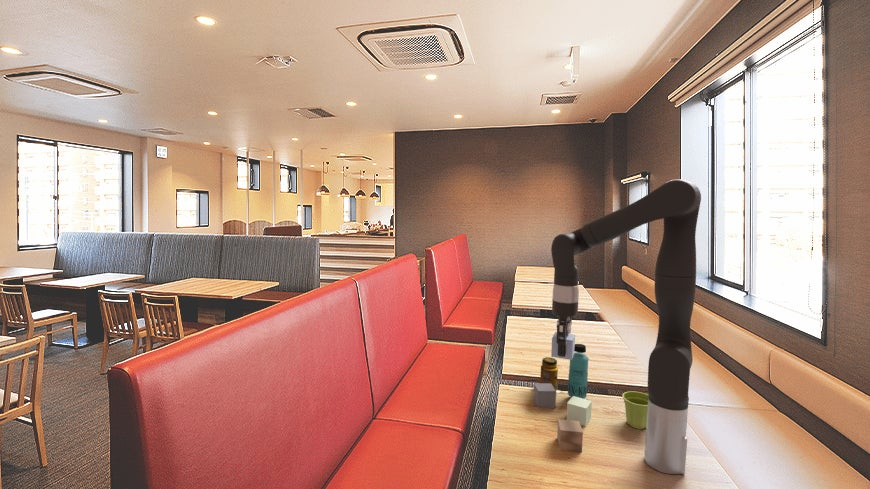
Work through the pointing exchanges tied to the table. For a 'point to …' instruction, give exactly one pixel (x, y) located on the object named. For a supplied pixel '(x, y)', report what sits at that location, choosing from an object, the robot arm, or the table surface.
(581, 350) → the beverage bottle
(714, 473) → the table surface
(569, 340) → the slate blue block
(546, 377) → the condiment
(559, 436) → the walnut block
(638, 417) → the plant pot
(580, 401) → the sage block
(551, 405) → the charcoal block
